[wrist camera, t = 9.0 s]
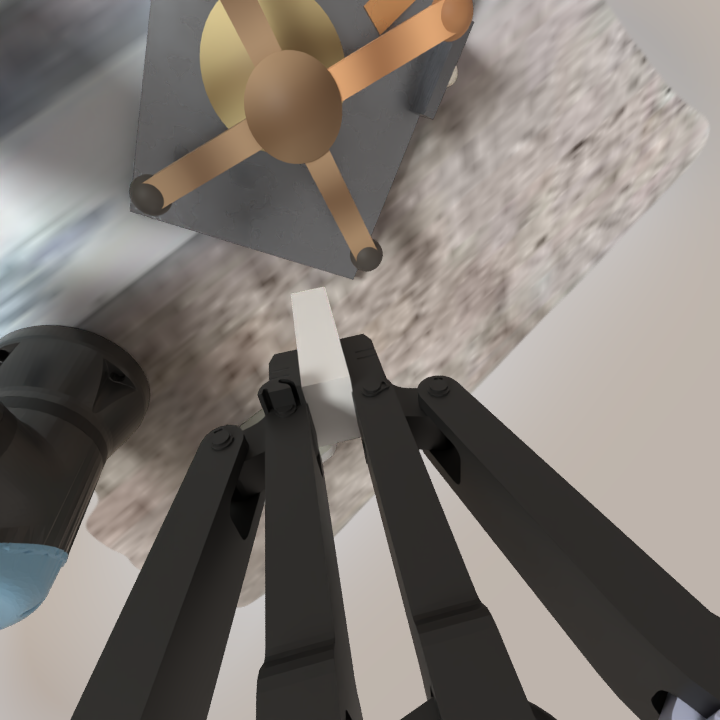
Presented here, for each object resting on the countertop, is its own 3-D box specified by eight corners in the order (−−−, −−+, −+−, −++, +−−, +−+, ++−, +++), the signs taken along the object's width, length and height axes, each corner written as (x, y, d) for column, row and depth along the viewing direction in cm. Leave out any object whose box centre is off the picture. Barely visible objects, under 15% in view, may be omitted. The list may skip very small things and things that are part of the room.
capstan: (481, 176, 37) (522, 196, 31) (247, 304, 40) (243, 345, 34) (365, -251, 22) (399, -369, 16) (14, -2, 25) (-66, -25, 19)
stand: (358, 275, 42) (368, 299, 38) (134, 206, 35) (114, 225, 30) (475, -12, 31) (510, -26, 26) (178, -205, 23) (156, -270, 19)
